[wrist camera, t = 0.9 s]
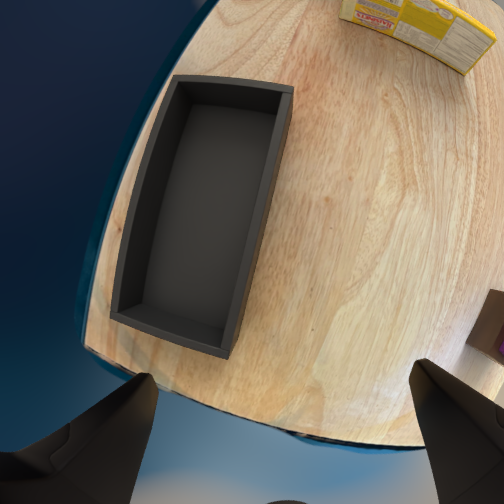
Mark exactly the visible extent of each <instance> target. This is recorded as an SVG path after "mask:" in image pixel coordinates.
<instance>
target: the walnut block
mask: <svg viewBox="0 0 504 504" xmlns="http://www.w3.org/2000/svg"><path fill="white" fill-rule="evenodd" d="M503 341H504V292H502V291H498V290H493V289H490V291H489V294H488V296H487V299H486V301H485V303H484V306H483V308H482V310H481V312H480V315H479V317H478V319H477V321H476V323H475V325H474V327H473V329H472V331H471V333H470V335H469V337H468V339H467V341H466V343H467V344H468V345H470V346H471V347H473V348H474V349H476V350H477V351H479V352H480V353H482V354H483V355H485V356H486V357H488V358H489V359H491V360H493V361H494V362H496V363H498V364H500V365H502V366H503V367H504V355H503V354H502V353H501V352H500V351H499V348H500V346H501V345H502V343H503Z"/></svg>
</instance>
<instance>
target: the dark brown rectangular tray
mask: <svg viewBox="0 0 504 504" xmlns="http://www.w3.org/2000/svg"><path fill="white" fill-rule="evenodd" d="M293 94H294V87H293V86H288V85H283V84H277V83H271V82H264V81H257V80H250V79H241V78H232V77H220V76H205V75H173V77H172V80H171V82H170V84H169V86H168V89H167V91H166V93H165V96H164V98H163V101H162V103H161V106H160V108H159V111H158V114H157V116H156V119H155V122H154V124H153V127H152V130H151V133H150V136H149V139H148V142H147V144H146V148H145V151H144V154H143V157H142V160H141V163H140V167H139V170H138V173H137V177H136V180H135V184H134V188H133V191H132V195H131V199H130V203H129V207H128V211H127V216H126V220H125V224H124V229H123V234H122V239H121V244H120V249H119V254H118V260H117V266H116V272H115V278H114V285H113V292H112V300H111V311H110V318H111V319H113V320H115V321H118V322H120V323H122V324H125V325H127V326H130V327H132V328H135V329H137V330H140V331H142V332H145V333H147V334H150V335H153V336H155V337H158V338H161V339H164V340H167V341H169V342H172V343H175V344H178V345H181V346H184V347H187V348H190V349H193V350H196V351H199V352H203V353H206V354H209V355H212V356H216V357H219V358H223V359H226V360H228V359H229V356H230V354H231V352H232V350H233V348H234V346H235V344H236V342H237V340H238V336H239V332H240V328H241V324H242V320H243V316H244V312H245V308H246V304H247V300H248V296H249V292H250V288H251V284H252V280H253V276H254V272H255V268H256V263H257V259H258V255H259V251H260V247H261V243H262V239H263V235H264V230H265V226H266V222H267V218H268V214H269V210H270V206H271V201H272V197H273V193H274V189H275V185H276V180H277V176H278V172H279V168H280V163H281V159H282V155H283V151H284V146H285V142H286V138H287V134H288V129H289V125H290V121H291V117H292V108H293Z"/></svg>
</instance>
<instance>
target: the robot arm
mask: <svg viewBox="0 0 504 504" xmlns="http://www.w3.org/2000/svg"><path fill="white" fill-rule="evenodd" d="M409 385H410V389H411V393H412V398H413V402H414V407H415V412H416V416H417V420H418V423H419V427H420V430H421V433H422V436H423V440H424V443H425V446H426V450H427V453H428V457H429V460H430V465H431V469H432V473H433V477H434V481H435V485H436V489H437V494H438V499H439V504H504V409H503V408H502V407H500V406H499V405H497V404H495V403H494V402H493V401H491V400H490V399H488V398H487V397H485V396H483V395H482V394H480V393H479V392H477V391H476V390H474V389H473V388H471V387H470V386H468V385H467V384H465V383H464V382H462V381H461V380H459V379H458V378H456V377H454V376H453V375H451V374H450V373H448V372H447V371H445V370H444V369H442V368H441V367H439V366H438V365H436V364H434V363H433V362H431V361H430V360H428V359H426V358H424V359H419V360H416V361H415V362H414V365H413V368H412V371H411V373H410V376H409ZM158 394H159V392H158V388H157V385H156V383H155V381H154V379H153V376H152V375H151V374H149V373H142V372H141V373H138V374H137V375H136V376H134V377H133V378H131V379H130V380H129V381H127V382H126V383H125V384H123V385H122V386H120V387H119V388H118V389H116V390H115V391H113V392H112V393H111V394H109V395H108V396H106V397H105V398H104V399H102V400H101V401H99V402H98V403H97V404H95V405H94V406H92V407H91V408H89V409H88V410H87V411H85V412H84V413H82V414H81V415H79V416H78V417H76V418H75V419H73V420H72V421H71V422H70V423H67V424H66V425H65V426H63V427H62V428H60V429H58V430H57V431H55V432H54V433H52V434H50V435H49V436H47V437H45V438H43V439H41V440H39V441H37V442H35V443H33V444H31V445H29V446H28V447H26V448H23V449H21V450H19V451H16V452H0V504H129V503H130V500H131V496H132V493H133V489H134V486H135V482H136V479H137V476H138V472H139V469H140V466H141V462H142V459H143V456H144V452H145V449H146V446H147V443H148V440H149V436H150V433H151V430H152V425H153V420H154V414H155V410H156V405H157V399H158Z"/></svg>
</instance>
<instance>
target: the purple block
mask: <svg viewBox="0 0 504 504" xmlns="http://www.w3.org/2000/svg"><path fill="white" fill-rule="evenodd" d="M499 351H500V352H501V353H502V354H503V355H504V341H503V343H502V345H501V346H500V348H499Z"/></svg>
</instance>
